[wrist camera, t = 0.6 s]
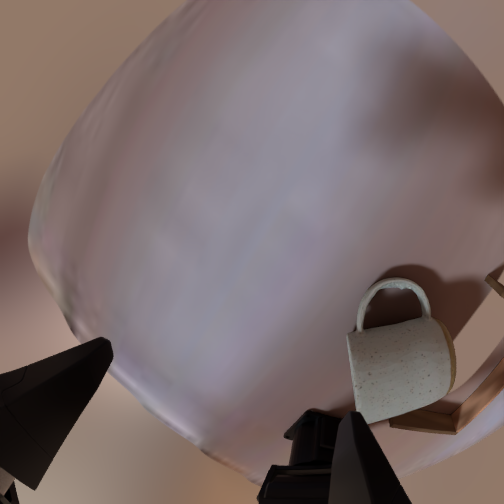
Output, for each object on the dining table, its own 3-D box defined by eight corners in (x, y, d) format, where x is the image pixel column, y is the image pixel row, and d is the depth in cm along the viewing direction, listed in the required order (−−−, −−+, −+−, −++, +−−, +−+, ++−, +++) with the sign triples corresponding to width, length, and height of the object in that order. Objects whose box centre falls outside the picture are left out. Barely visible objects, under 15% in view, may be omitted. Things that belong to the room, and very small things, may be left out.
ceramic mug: (430, 359, 21) (452, 417, 14) (352, 379, 23) (355, 442, 16) (430, 260, 18) (474, 308, 11) (334, 284, 21) (340, 345, 14)
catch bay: (450, 418, 23) (455, 434, 20) (386, 406, 24) (390, 427, 21) (537, 311, 16) (549, 325, 13) (487, 274, 17) (504, 289, 14)
